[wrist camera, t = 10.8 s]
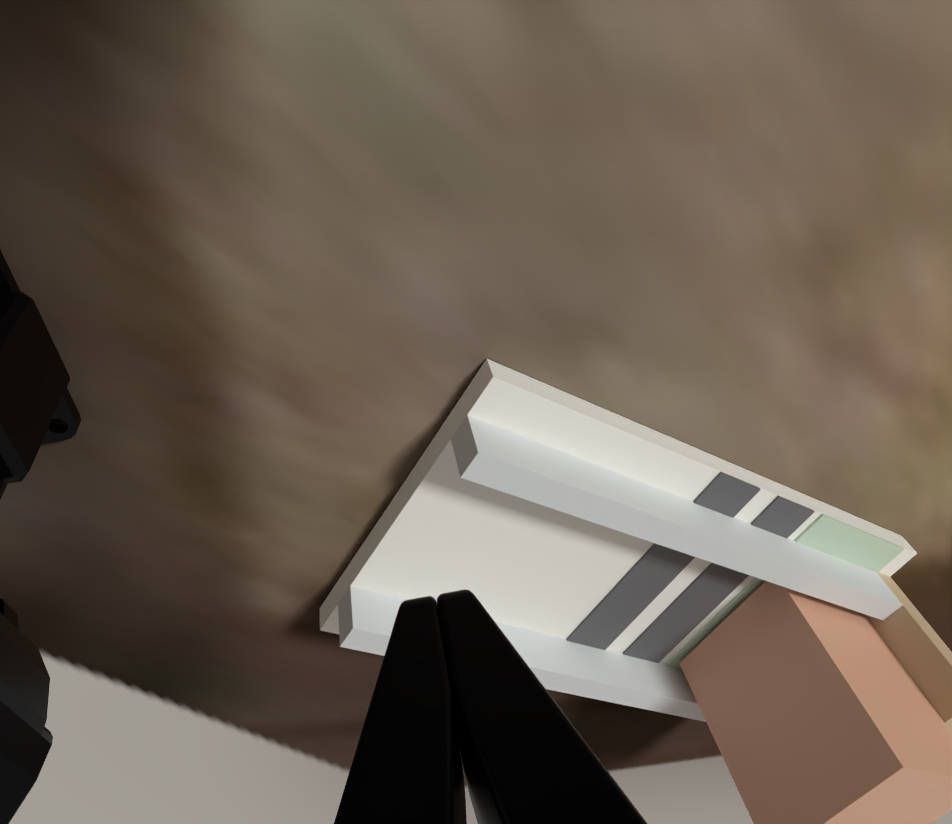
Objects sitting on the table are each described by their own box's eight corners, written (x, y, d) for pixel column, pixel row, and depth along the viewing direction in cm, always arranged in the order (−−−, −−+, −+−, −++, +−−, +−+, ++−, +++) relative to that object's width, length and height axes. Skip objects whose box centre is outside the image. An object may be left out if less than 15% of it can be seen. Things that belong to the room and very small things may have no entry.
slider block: (679, 663, 32) (771, 860, 26) (774, 572, 29) (903, 767, 23) (757, 682, 34) (860, 869, 28) (853, 599, 32) (990, 784, 25)
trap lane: (319, 608, 28) (323, 795, 22) (486, 358, 23) (546, 521, 17) (718, 698, 37) (791, 846, 32) (901, 535, 32) (1027, 678, 26)
